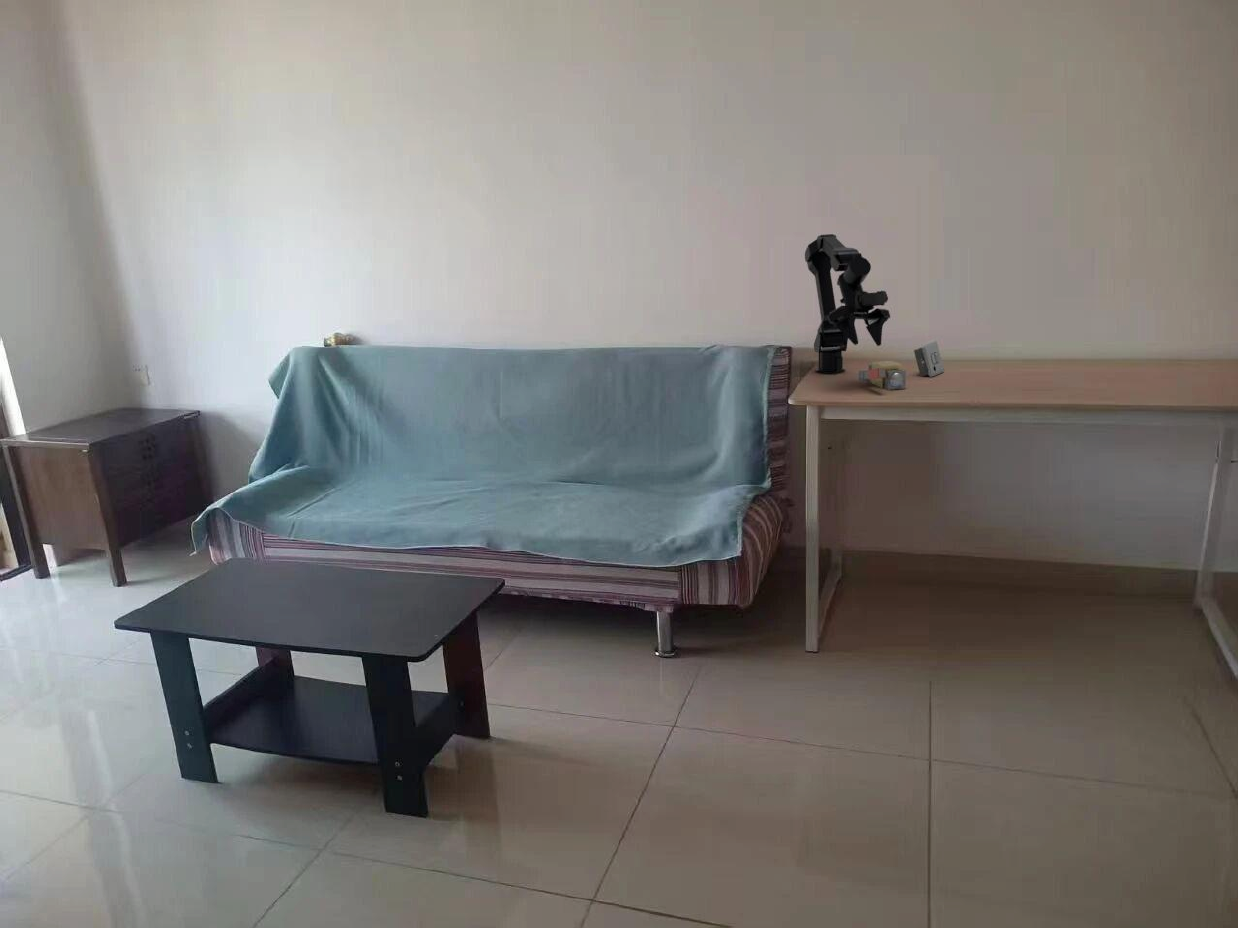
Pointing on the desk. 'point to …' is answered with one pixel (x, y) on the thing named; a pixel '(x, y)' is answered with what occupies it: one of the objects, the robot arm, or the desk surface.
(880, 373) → the lever
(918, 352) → the electrical switch
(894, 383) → the valve
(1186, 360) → the desk surface
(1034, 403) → the desk surface
